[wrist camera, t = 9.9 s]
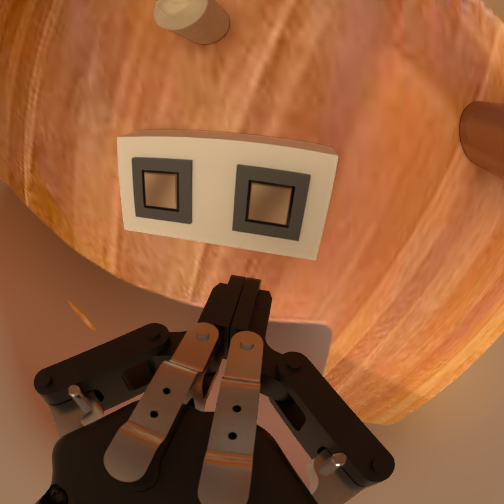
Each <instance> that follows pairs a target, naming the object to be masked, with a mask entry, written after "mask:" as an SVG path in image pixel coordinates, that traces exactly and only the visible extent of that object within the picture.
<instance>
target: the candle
mask: <svg viewBox="0 0 504 504" xmlns="http://www.w3.org/2000/svg"><path fill="white" fill-rule="evenodd" d="M153 16H154V20H155V22H156V23H157V24H158V25H159V26H160V27H162V28H163V29H166V30H168V31H170V32H173V33H175V34H177V35H179V36H182V37H184V38H186V39H188V40H190V41H192V42H195V43H198V44H211V43H214V42H216V41H218V40H220V39H221V38H222V37H223V36H224V35H225V34H226V33H227V31H228V29H229V25H230V21H229V17H228V15H227V13H226V12H225V11H224V10H223V9H222V8H221V7H220V6H219V5H218V4H217V2H216V1H215V0H158V1H157V2H156V4H155V7H154V12H153Z"/></svg>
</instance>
